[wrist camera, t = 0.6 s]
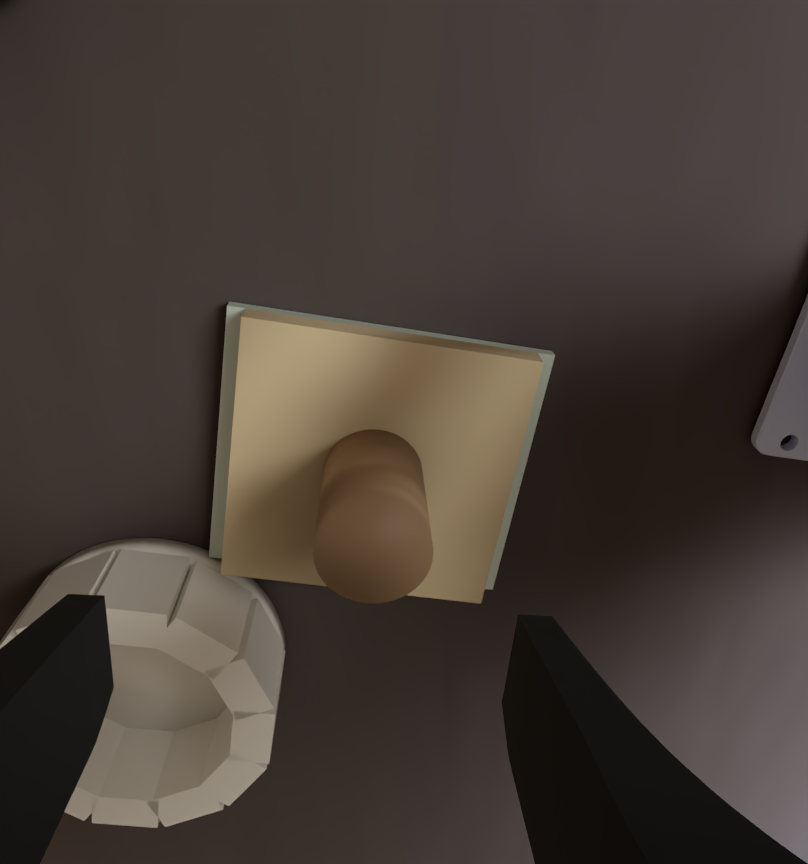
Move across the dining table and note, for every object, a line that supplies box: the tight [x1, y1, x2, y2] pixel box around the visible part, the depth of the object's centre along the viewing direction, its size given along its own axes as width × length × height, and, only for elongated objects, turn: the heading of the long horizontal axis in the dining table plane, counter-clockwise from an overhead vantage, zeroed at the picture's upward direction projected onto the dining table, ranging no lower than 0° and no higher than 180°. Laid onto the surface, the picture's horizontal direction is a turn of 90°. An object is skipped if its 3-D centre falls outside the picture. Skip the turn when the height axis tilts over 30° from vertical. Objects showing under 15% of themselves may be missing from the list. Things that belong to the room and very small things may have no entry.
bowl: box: [0, 537, 286, 828], centre depth 23 cm, size 8×8×4 cm
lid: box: [221, 308, 544, 604], centre depth 19 cm, size 8×8×5 cm
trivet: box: [209, 302, 555, 590], centre depth 22 cm, size 9×8×1 cm
